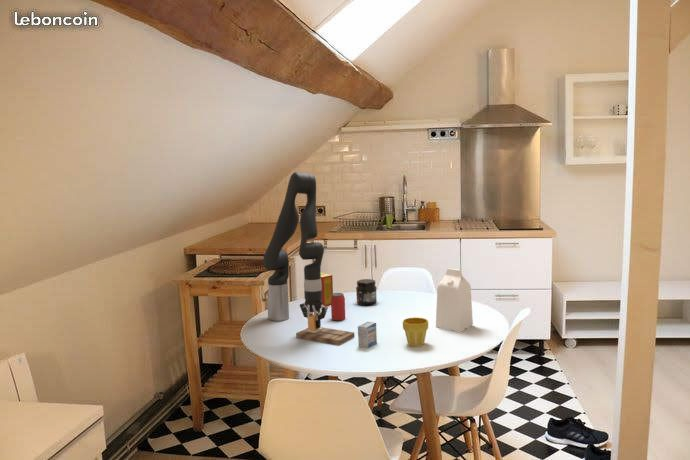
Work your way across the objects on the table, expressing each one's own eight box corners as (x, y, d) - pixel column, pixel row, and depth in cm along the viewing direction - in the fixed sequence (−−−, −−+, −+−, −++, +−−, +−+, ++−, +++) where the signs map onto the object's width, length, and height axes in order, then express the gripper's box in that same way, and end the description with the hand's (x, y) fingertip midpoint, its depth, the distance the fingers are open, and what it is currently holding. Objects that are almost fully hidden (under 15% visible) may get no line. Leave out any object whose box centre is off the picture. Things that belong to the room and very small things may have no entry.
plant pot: (402, 339, 254) (401, 317, 253) (427, 339, 254) (426, 316, 253) (404, 348, 244) (403, 324, 243) (429, 347, 244) (429, 324, 242)
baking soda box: (333, 304, 314) (332, 274, 312) (323, 307, 310) (322, 276, 308) (322, 301, 321) (321, 271, 319) (312, 303, 317) (311, 273, 315)
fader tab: (305, 331, 262) (305, 316, 261) (313, 328, 267) (313, 313, 266) (315, 333, 260) (314, 317, 259) (323, 329, 265) (322, 314, 264)
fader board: (296, 337, 262) (296, 332, 261) (312, 330, 272) (312, 325, 272) (339, 345, 250) (339, 340, 250) (354, 337, 260) (354, 332, 260)
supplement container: (357, 301, 320) (357, 278, 318) (377, 301, 319) (377, 278, 317) (355, 306, 310) (354, 283, 308) (375, 306, 308) (375, 283, 307)
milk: (472, 325, 271) (472, 268, 267) (458, 332, 262) (458, 273, 259) (450, 321, 279) (449, 265, 275) (435, 327, 271) (435, 269, 267)
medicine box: (367, 348, 245) (367, 327, 244) (358, 346, 248) (357, 326, 246) (377, 342, 252) (376, 322, 251) (367, 341, 254) (367, 321, 253)
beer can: (343, 321, 284) (343, 296, 282) (330, 320, 285) (329, 295, 284) (346, 317, 291) (345, 292, 289) (333, 316, 292) (332, 292, 290)
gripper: (294, 289, 262) (296, 327, 264) (321, 292, 254) (323, 332, 257) (304, 285, 268) (306, 323, 270) (331, 288, 260) (332, 327, 263)
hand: (314, 327), depth 263 cm, fingers closed on fader tab, 3 cm apart
